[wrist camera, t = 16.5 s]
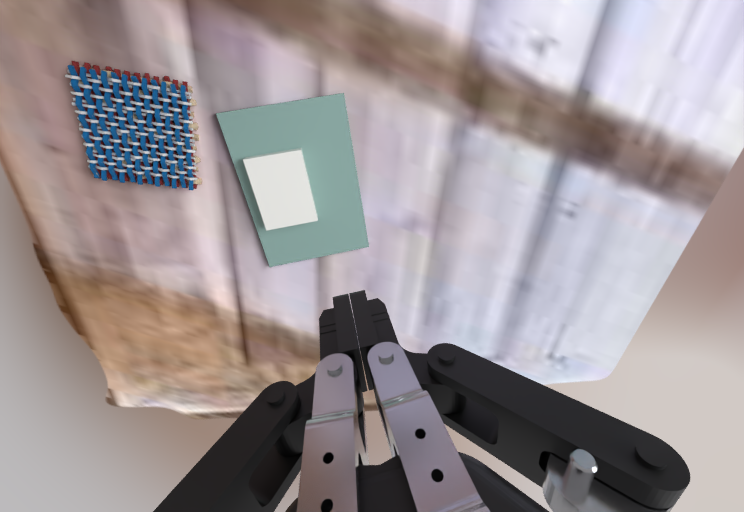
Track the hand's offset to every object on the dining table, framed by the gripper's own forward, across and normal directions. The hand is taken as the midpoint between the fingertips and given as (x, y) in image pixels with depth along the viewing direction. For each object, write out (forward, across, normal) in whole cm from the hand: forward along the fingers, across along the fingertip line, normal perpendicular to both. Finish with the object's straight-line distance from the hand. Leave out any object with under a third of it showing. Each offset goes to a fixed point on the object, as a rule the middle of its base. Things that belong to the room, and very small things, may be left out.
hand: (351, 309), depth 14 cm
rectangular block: (+23, +5, +4) cm, 24 cm away
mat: (+25, +3, 0) cm, 25 cm away
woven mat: (+26, +17, -8) cm, 32 cm away
